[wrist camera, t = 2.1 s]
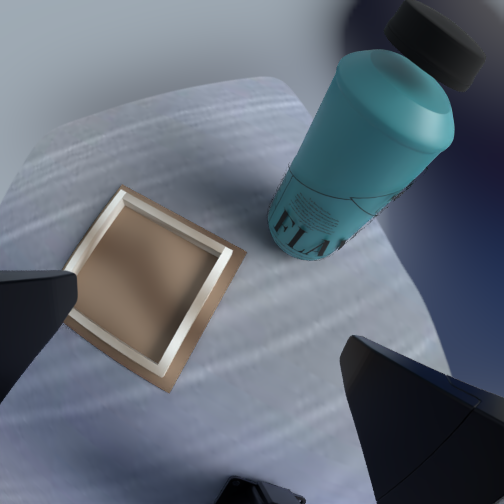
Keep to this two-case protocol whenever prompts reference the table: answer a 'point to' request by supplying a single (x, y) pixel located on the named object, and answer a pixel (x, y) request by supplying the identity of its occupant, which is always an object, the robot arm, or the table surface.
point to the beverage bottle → (373, 132)
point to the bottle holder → (148, 285)
